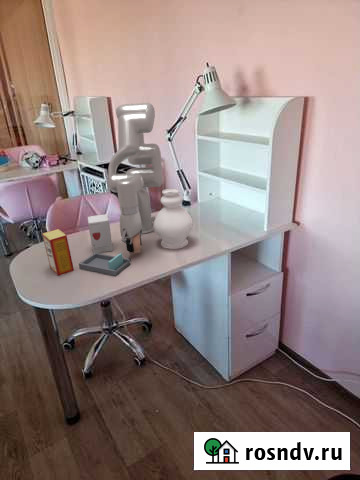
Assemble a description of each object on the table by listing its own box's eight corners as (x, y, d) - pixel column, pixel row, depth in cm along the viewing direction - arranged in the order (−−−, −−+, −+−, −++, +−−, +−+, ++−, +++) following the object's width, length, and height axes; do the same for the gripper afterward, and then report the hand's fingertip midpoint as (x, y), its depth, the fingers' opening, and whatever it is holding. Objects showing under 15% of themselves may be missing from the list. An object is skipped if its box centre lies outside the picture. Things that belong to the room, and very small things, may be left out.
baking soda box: (50, 267, 140) (41, 232, 134) (65, 262, 144) (57, 228, 137) (58, 276, 133) (49, 239, 127) (74, 270, 137) (66, 234, 130)
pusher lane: (96, 257, 146) (95, 252, 145) (130, 264, 139) (129, 259, 138) (79, 268, 138) (78, 263, 137) (115, 276, 130) (114, 271, 129)
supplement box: (93, 254, 150) (87, 223, 144) (92, 246, 158) (87, 216, 152) (113, 250, 152) (108, 219, 146) (111, 243, 160) (107, 213, 154)
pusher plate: (121, 262, 139) (120, 253, 137) (123, 262, 139) (122, 253, 137) (109, 271, 132) (107, 262, 131) (111, 272, 132) (110, 262, 130)
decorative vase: (189, 252, 146) (187, 197, 136) (150, 250, 149) (145, 196, 139) (196, 235, 162) (194, 185, 151) (160, 234, 165) (156, 185, 155)
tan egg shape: (132, 246, 148) (131, 232, 145) (143, 248, 146) (141, 233, 143) (126, 252, 144) (123, 237, 141) (136, 254, 142) (134, 239, 139)
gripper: (133, 201, 145) (137, 238, 153) (109, 215, 131) (115, 256, 139) (148, 203, 142) (152, 241, 150) (125, 218, 128) (130, 259, 136)
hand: (134, 248), depth 144 cm, fingers closed on tan egg shape, 5 cm apart
